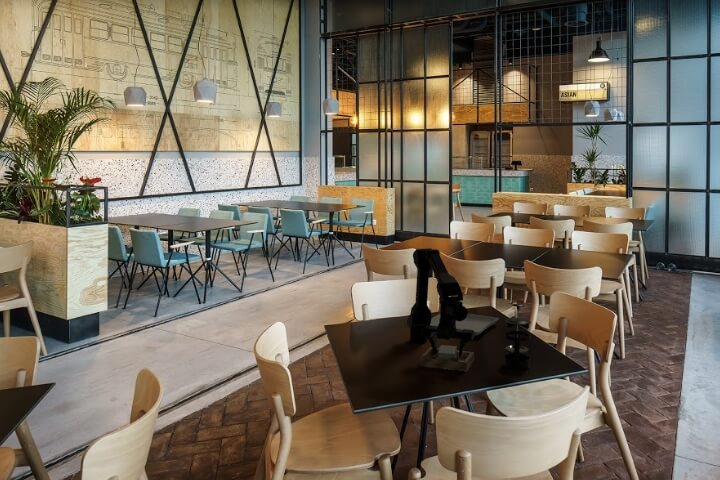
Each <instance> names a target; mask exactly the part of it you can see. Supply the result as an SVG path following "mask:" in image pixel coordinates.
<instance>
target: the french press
mask: <svg viewBox="0 0 720 480" xmlns="http://www.w3.org/2000/svg"><path fill="white" fill-rule="evenodd" d="M511 306H513V307H515V308H516V310H517V313H516V314H517V316H516V317H507V318H505V319H504V322H505V327H506V328H512V327H513V326H516V329H514V330H507V331H505V332H504V341H503V342H504V344H503V345H504V346H503V347H504V349H503V363H502V365H503V366H504V367H503V368H506V369H509V370H513V371H525V370H529V369H530V367H531V365H530V356H531V355H530V354H531V353H530V352H531V349H530V348H531V334H530V333H528V332H527V331H523V330H520V329H519V326H521V327H523V329H525V330H529V328H530V324H531V322H532V321H531V320H529V319H528V318H523V317H519V314H520V313H519V311H520V308H523V307H525V305H524V304H523V303H512V304H511ZM511 335H514V336H511ZM521 335H522V336H524V337H521ZM506 339H507V340H509V341H514V345H507V346H506ZM526 341H528V347H526V346H523V345H521V344H520V343H521V342H526ZM506 352H507V353H506ZM527 354H528V355H527Z"/></svg>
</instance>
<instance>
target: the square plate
mask: <svg viewBox="0 0 720 480" xmlns="http://www.w3.org/2000/svg"><path fill="white" fill-rule="evenodd" d="M499 319H500V318H499V317H494V316H488V315H487V316H486V315H480V314H474V313H468V314H467V317H466V318H465V319H464V320H463V321H456V330H457V331H461V332H462V331H463V329H469V330H473V331H474V333H475V336H477V337H478V336H479V335H481V333H483V332H484V331H486V329H488V328H489V327H491V326H492V325H494V324H495V323H497V322H498V320H499ZM439 320H440V313H439V314H437V315H435V316H433V317H432V318H431V324H430V326H435V327H436V329H437V327H438V325H439ZM475 336H474V337H475Z"/></svg>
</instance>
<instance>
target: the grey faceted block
mask: <svg viewBox="0 0 720 480" xmlns="http://www.w3.org/2000/svg"><path fill="white" fill-rule="evenodd" d="M457 347H458V346H457V345H442V344H441V345H440V346H439V348H440V349H439V352H438V359H445V360H451V358H457Z"/></svg>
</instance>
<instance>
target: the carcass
mask: <svg viewBox="0 0 720 480" xmlns="http://www.w3.org/2000/svg"><path fill="white" fill-rule="evenodd" d="M439 349H440V347H437V351H436V354H434V351H433V348H432V346H431V347H429V348H428V349H427V350H426V351H425V352H424V353H423V354H422V355H421V357H420V359H419V360H420V362H419V363H420V364H419V365H420V367H425V368H432V369H439V368H440V370H447V369H448V370H449V371H455V370H457V371H456V372H462V371H464V373H467V372H468V371H469V369H470V367H471V366H472V364H473V363H474V361H475V352H473V351H465V350H463V352H462V354H461V357H459V349H458V350H457V358H451V360H445V359H438V352H439Z"/></svg>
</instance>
